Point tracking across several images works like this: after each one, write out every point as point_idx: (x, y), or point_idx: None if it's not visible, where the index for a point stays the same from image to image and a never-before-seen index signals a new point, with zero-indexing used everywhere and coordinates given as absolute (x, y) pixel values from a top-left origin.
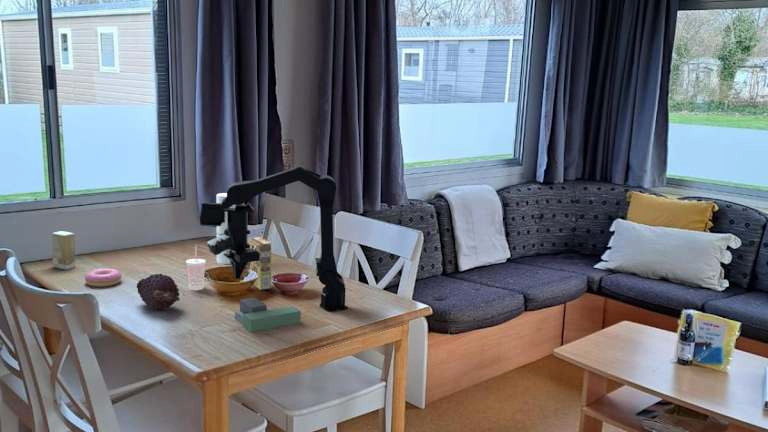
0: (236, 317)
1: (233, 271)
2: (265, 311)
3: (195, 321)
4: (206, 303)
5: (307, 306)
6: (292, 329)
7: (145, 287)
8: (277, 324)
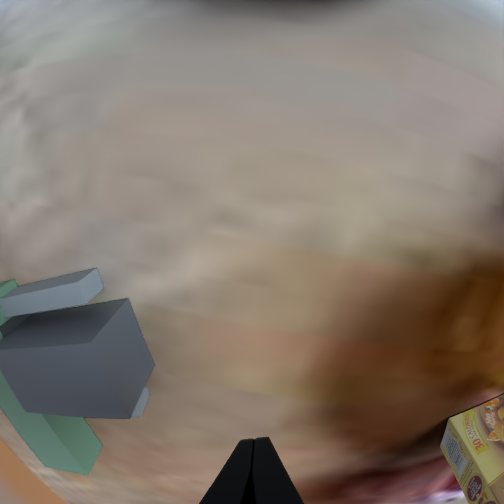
0: (76, 274)
1: (273, 484)
2: None
3: (99, 69)
4: (388, 161)
5: None
6: None
7: None
8: None
